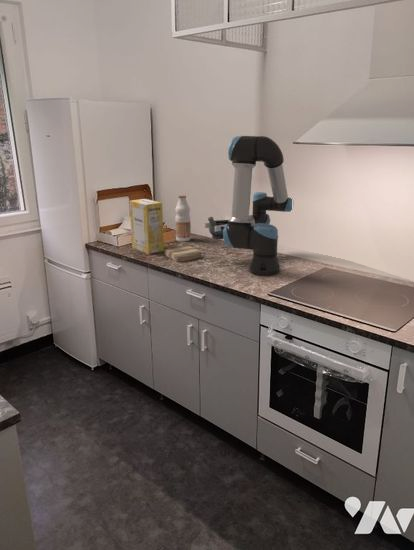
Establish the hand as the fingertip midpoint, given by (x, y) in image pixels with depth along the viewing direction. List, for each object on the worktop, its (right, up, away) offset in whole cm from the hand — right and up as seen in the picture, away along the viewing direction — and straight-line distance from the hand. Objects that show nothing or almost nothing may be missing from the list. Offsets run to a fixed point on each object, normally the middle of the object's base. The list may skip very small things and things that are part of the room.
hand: (209, 227), depth 238 cm
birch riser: (-15, -15, +15) cm, 26 cm away
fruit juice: (-16, -3, +50) cm, 53 cm away
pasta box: (-36, -10, +30) cm, 48 cm away
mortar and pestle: (+4, -6, +4) cm, 8 cm away
